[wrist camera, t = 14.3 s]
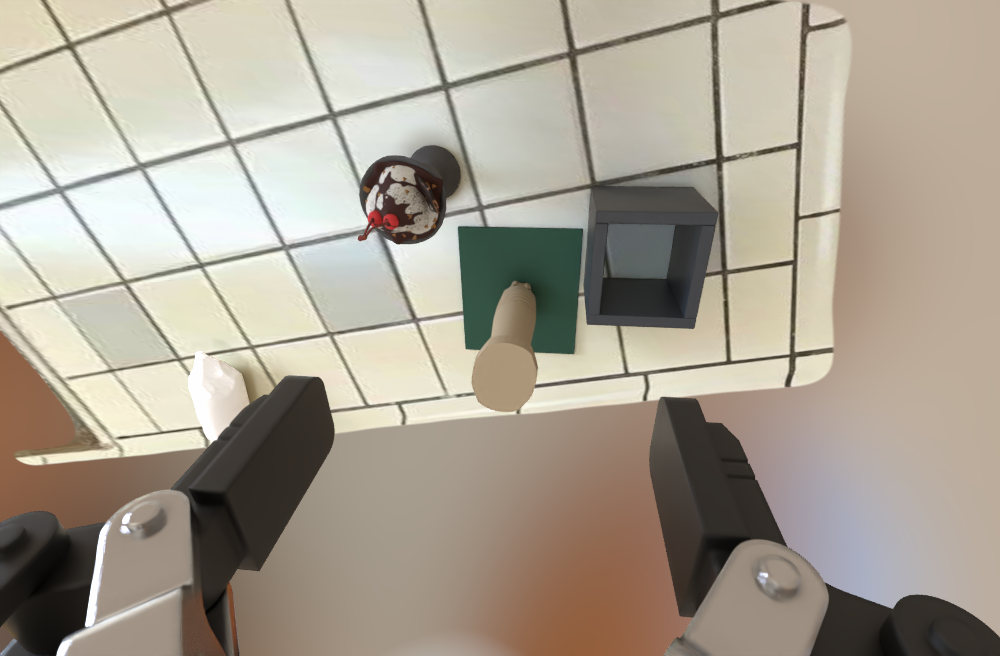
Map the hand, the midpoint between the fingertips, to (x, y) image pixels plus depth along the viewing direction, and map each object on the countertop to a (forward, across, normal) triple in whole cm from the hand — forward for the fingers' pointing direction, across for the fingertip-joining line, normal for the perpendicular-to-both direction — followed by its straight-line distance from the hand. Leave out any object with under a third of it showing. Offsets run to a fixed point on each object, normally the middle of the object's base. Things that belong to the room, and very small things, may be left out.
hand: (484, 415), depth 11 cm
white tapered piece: (+36, +38, +27) cm, 59 cm away
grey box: (+36, -9, +8) cm, 38 cm away
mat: (+36, +2, +14) cm, 39 cm away
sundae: (+36, +10, +2) cm, 38 cm away
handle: (+36, +2, +14) cm, 39 cm away
